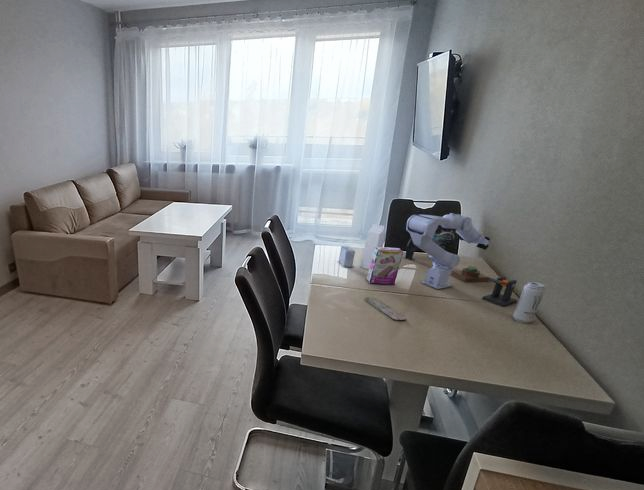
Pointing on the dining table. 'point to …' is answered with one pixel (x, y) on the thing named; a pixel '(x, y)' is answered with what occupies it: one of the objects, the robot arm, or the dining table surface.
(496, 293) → the dark grey stand
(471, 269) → the socket button
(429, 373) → the dining table surface
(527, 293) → the energy drink can
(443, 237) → the dark green curved piece
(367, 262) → the milk
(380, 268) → the candy bar box
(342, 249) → the medicine box
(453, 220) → the robot arm
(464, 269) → the socket block
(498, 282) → the kettle switch
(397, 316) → the thin flat strip
